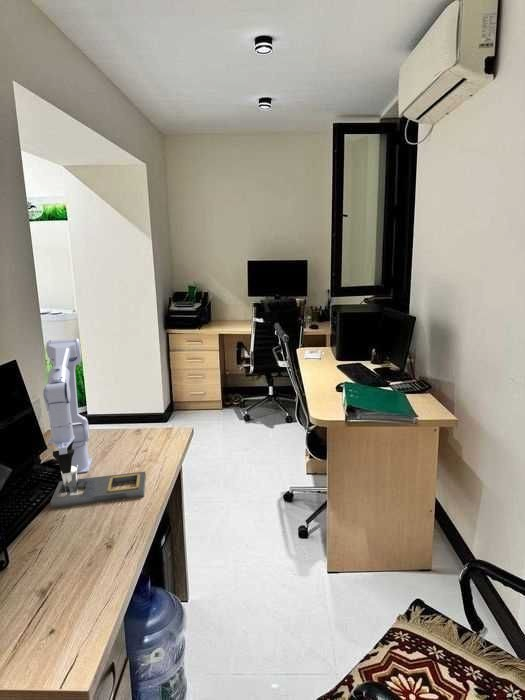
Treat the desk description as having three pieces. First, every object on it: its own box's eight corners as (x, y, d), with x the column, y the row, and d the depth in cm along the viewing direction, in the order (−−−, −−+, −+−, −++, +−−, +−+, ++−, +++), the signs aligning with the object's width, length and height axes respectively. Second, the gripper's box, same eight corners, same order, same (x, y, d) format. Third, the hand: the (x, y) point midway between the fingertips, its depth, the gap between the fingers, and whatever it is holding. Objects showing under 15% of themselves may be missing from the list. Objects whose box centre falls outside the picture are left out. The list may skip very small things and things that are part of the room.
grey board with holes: (60, 487, 144) (59, 480, 144) (145, 477, 149) (145, 470, 149) (51, 508, 133) (50, 500, 132) (144, 496, 138) (143, 489, 137)
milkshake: (77, 499, 137) (73, 469, 134) (60, 498, 138) (56, 467, 136) (85, 491, 141) (82, 461, 139) (70, 490, 142) (66, 460, 140)
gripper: (47, 417, 137) (53, 458, 141) (44, 435, 124) (50, 481, 128) (72, 413, 140) (78, 454, 143) (72, 431, 127) (78, 476, 130)
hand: (67, 466), depth 136 cm, fingers open, 7 cm apart
